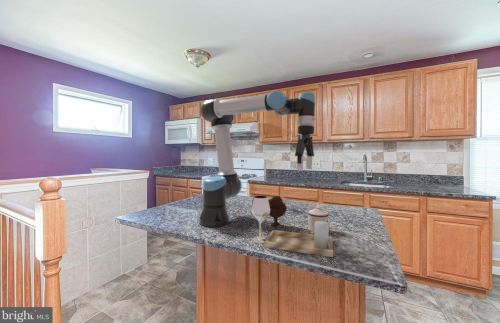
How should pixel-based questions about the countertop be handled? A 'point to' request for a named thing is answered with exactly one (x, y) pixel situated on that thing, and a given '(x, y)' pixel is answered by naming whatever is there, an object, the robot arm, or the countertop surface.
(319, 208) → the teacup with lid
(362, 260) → the countertop surface
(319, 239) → the white rounded capsule
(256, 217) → the wineglass
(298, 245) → the tray
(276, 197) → the ice cream bowl
